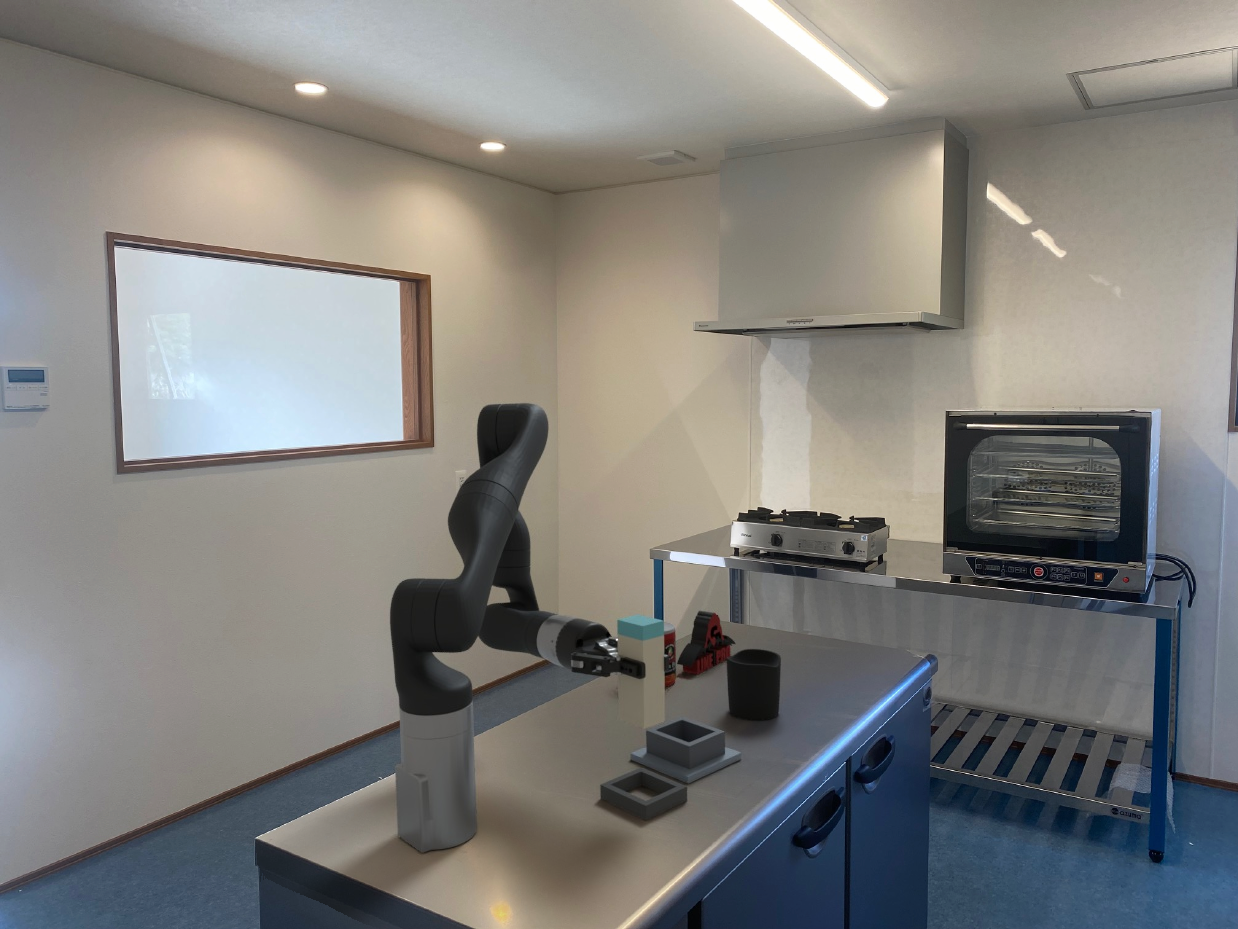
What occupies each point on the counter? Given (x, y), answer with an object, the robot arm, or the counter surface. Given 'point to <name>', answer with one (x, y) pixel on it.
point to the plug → (646, 695)
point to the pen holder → (754, 684)
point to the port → (685, 749)
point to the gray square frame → (621, 798)
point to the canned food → (670, 653)
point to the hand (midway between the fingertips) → (655, 667)
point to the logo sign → (705, 644)
